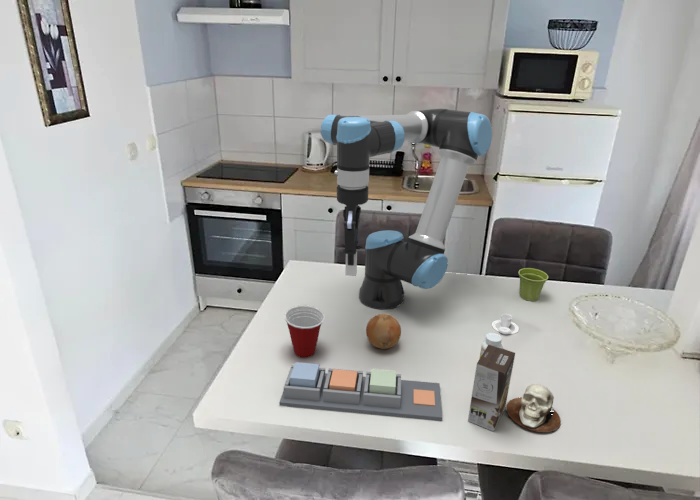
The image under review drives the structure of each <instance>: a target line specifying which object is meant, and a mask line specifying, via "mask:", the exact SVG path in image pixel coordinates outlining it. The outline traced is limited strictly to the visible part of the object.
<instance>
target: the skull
mask: <svg viewBox="0 0 700 500" xmlns="http://www.w3.org/2000/svg"><path fill="white" fill-rule="evenodd" d="M554 399H555V397H554V395H553V392H552V391H551V390H550V389H549V388H548V387H546V386H545V385H542V384H539V383H532V384H529V385H528V386H527V387H526V389H525V391H524V393H523V395H522V396H521V397H520V398H519V397H515V398H512V399H510V400H509V401H508V402H506V406H505V410H506V413H507V414H508V416H509V418H510V419H511V420H512V421H513V422H514V423H516V424H518V425H519V426H520V427H521V428H524V429H526V430H529V431H531V432H538V433H550V432H552V433H553V432H554V431H556V430H558V429H559V427H560V426H561V423H562V422H561V421H562V420H561V417H560V415H559V413H558V412H557V411H556V410H555V408H553V404H554ZM552 408H553V409H552ZM551 409H552V410H553V411H554V412H550V411H551ZM551 414H553V415H551Z"/></svg>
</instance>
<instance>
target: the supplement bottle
mask: <svg viewBox="0 0 700 500" xmlns="http://www.w3.org/2000/svg"><path fill="white" fill-rule="evenodd" d="M484 339H485V340H483V341H482V342H481V347H480V353H479V358H478V359H480V358H481V356H482V354H483V353H484V351H485V349H486V348H487V346H488V345H491V346H494V347H498V348H502V349H504V347H503V344H502V342H503V341H502V340H503V338H502V336H501V335H500V334H498V333H495V332H489V333H487V334H485V338H484Z"/></svg>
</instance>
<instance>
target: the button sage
mask: <svg viewBox="0 0 700 500" xmlns="http://www.w3.org/2000/svg"><path fill="white" fill-rule="evenodd" d="M370 372H371V379H370V391H369V393H374V394H385V395H395V388H396V374H397V370H393V369H392V370H391V369H381V368H379V369H378V368H371V370H370Z"/></svg>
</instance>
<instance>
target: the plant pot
mask: <svg viewBox="0 0 700 500" xmlns="http://www.w3.org/2000/svg"><path fill="white" fill-rule="evenodd" d="M518 276H519V297H520V298H521V299H523V300H525V301H531V302H535V301H538V300H539V297H540V295H541V293H542V290H543V287H544V286H545V283H546V282H547V281H548V279H549V275H548V274H547V273H546V272H545V271H543V270H541V269H537V268H533V267H532V268H531V267H525V268H521V269H519V270H518Z"/></svg>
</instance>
